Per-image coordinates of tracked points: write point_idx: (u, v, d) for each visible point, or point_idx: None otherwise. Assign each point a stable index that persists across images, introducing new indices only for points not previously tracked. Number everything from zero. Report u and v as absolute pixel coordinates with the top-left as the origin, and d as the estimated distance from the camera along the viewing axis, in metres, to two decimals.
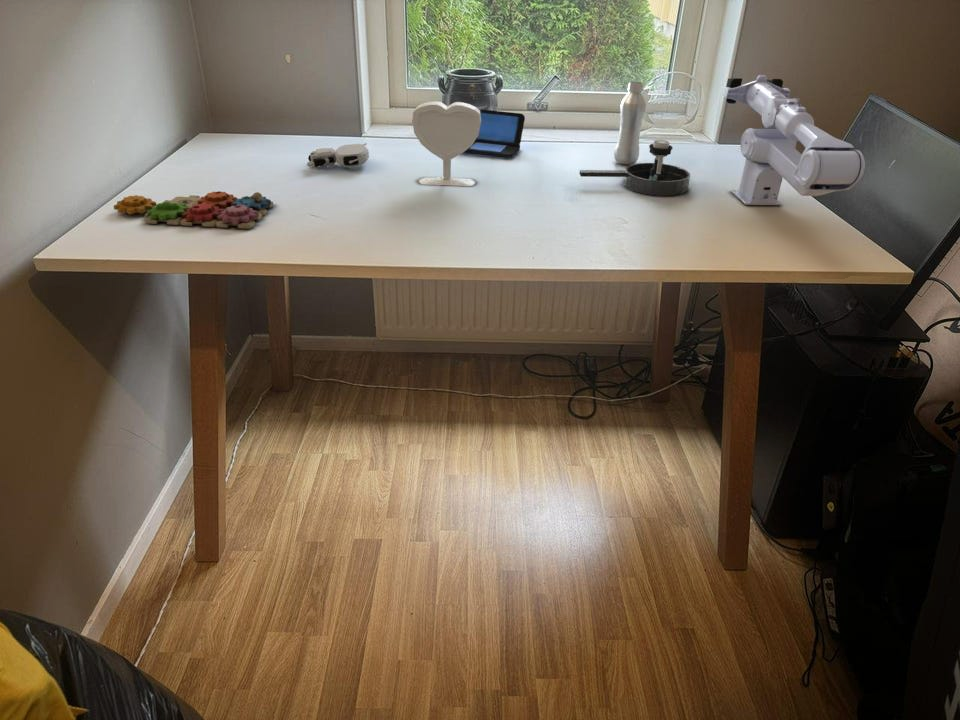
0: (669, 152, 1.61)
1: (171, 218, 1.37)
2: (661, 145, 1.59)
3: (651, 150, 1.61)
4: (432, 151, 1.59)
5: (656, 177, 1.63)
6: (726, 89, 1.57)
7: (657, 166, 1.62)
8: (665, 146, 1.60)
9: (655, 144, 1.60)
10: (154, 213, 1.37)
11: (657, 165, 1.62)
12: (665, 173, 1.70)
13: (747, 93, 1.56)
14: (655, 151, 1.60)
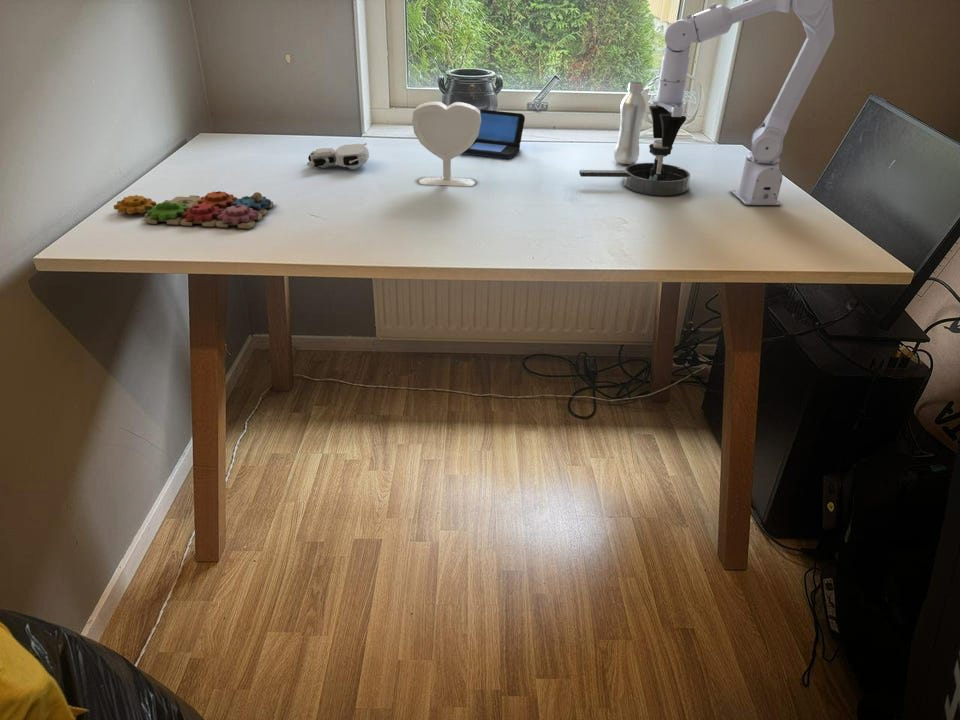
0: (669, 152, 1.61)
1: (171, 218, 1.37)
2: (661, 145, 1.59)
3: (651, 150, 1.61)
4: (432, 151, 1.59)
5: (656, 177, 1.63)
6: (674, 112, 1.50)
7: (657, 166, 1.62)
8: None
9: (655, 144, 1.60)
10: (154, 213, 1.37)
11: (657, 165, 1.62)
12: (665, 173, 1.70)
13: (671, 101, 1.53)
14: (655, 151, 1.60)
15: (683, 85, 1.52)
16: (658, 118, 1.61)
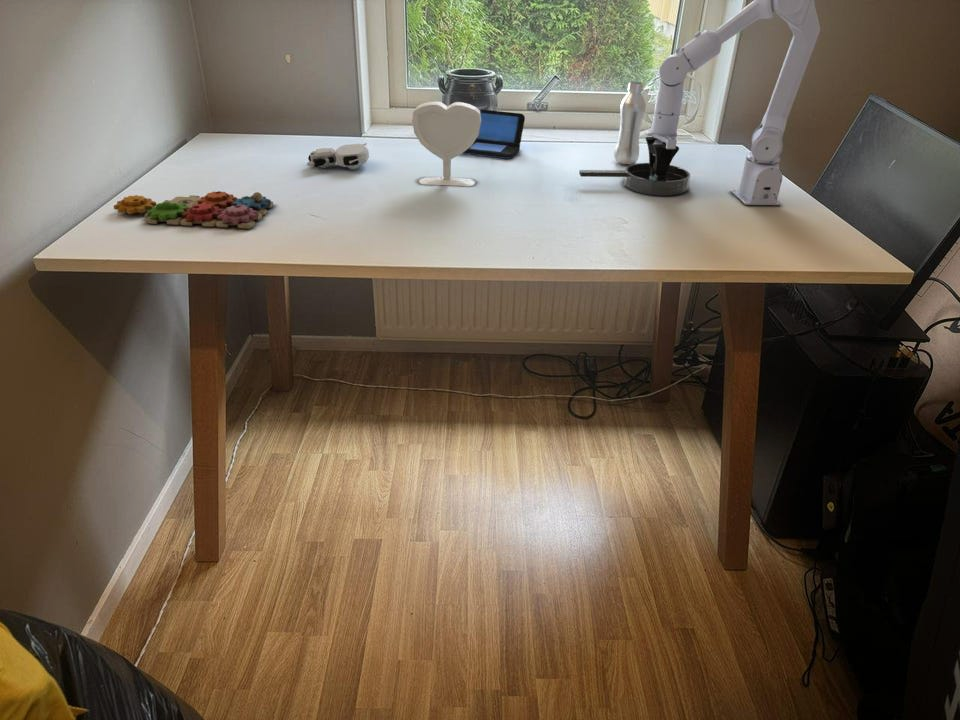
0: None
1: (171, 218, 1.37)
2: None
3: (652, 150, 1.60)
4: (432, 151, 1.59)
5: (656, 177, 1.63)
6: (668, 145, 1.53)
7: None
8: None
9: None
10: (154, 213, 1.37)
11: None
12: None
13: (665, 133, 1.56)
14: None
15: (677, 118, 1.56)
16: None
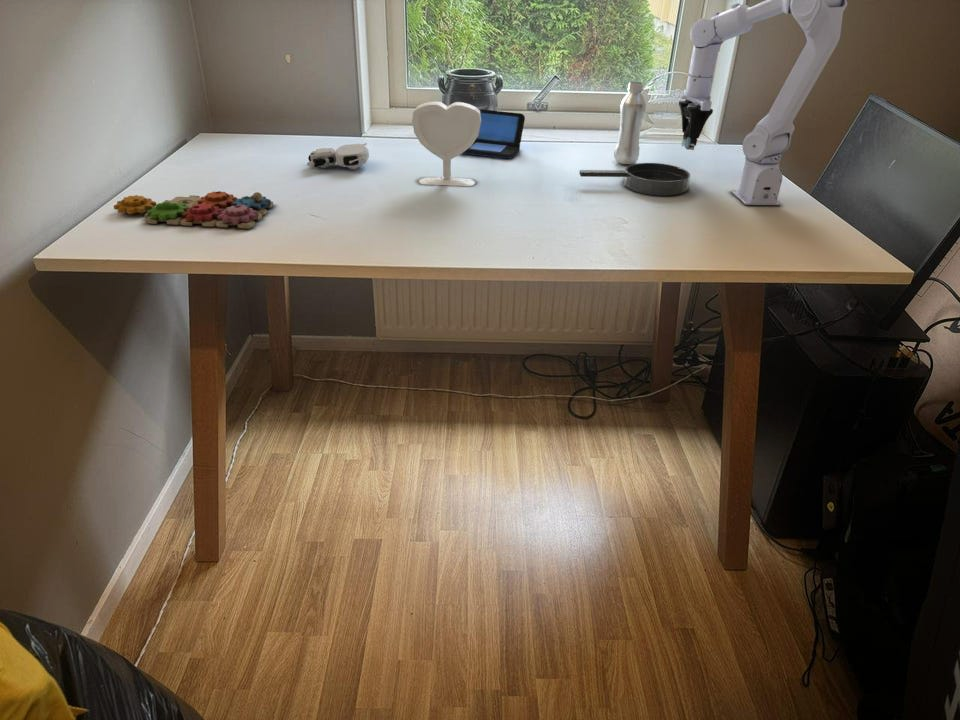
0: None
1: (171, 218, 1.37)
2: None
3: (685, 113, 1.65)
4: (432, 151, 1.59)
5: (690, 140, 1.67)
6: (703, 106, 1.58)
7: None
8: None
9: None
10: (154, 213, 1.37)
11: None
12: (665, 173, 1.70)
13: (700, 95, 1.60)
14: None
15: (711, 80, 1.60)
16: None
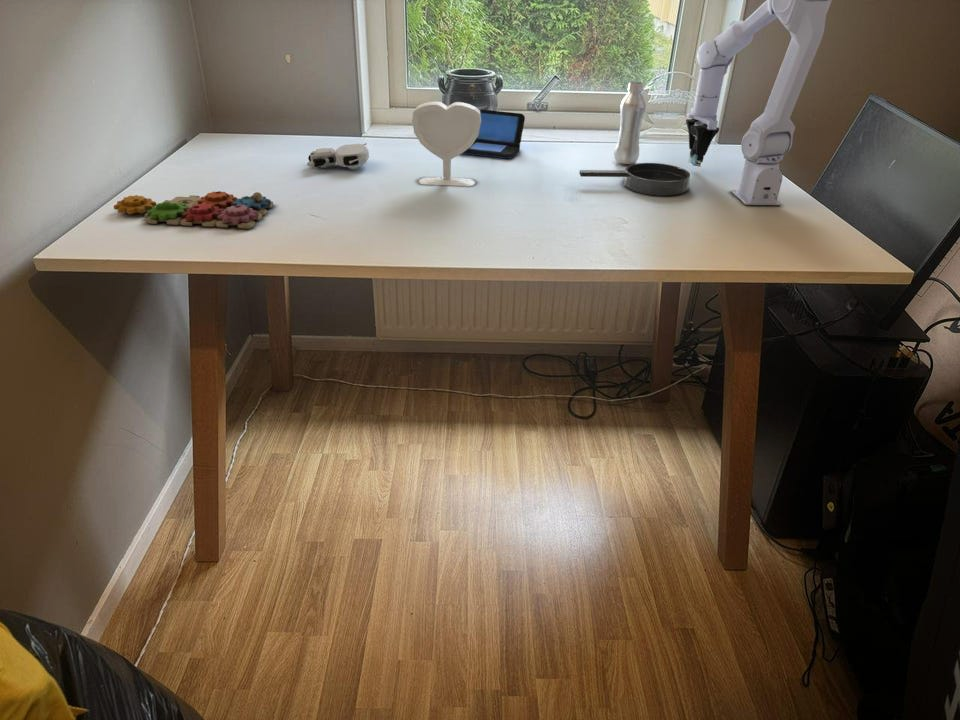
0: None
1: (171, 218, 1.37)
2: None
3: (692, 131, 1.70)
4: (432, 151, 1.59)
5: (696, 157, 1.73)
6: (710, 125, 1.63)
7: None
8: None
9: (696, 125, 1.70)
10: (154, 213, 1.37)
11: None
12: (665, 173, 1.70)
13: (706, 114, 1.66)
14: None
15: (718, 100, 1.66)
16: None
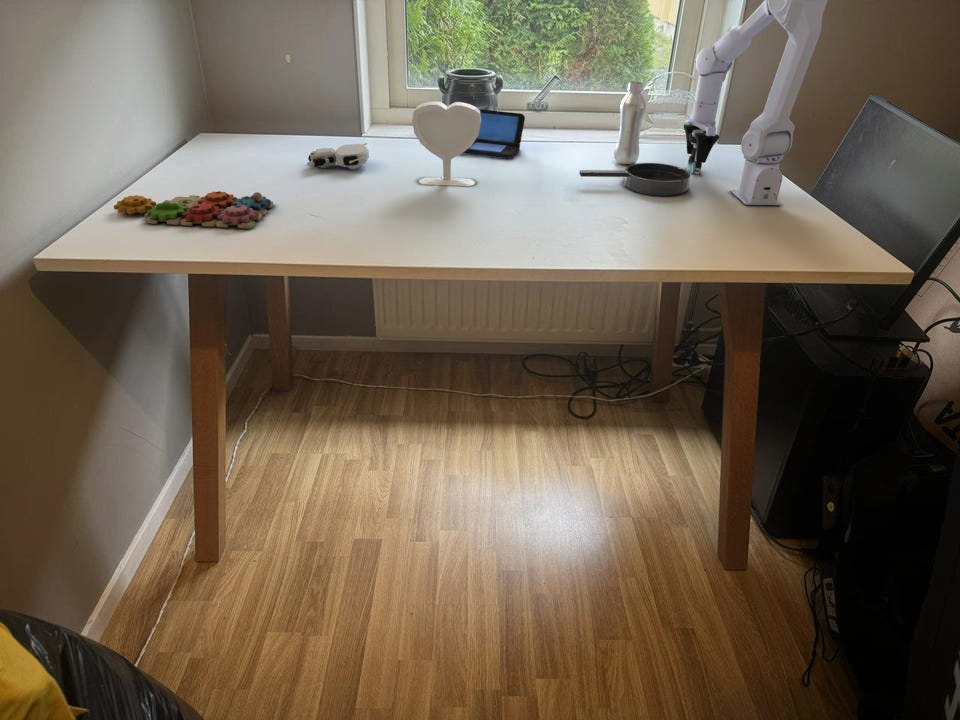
0: None
1: (171, 218, 1.37)
2: None
3: (690, 139, 1.72)
4: (432, 151, 1.59)
5: (695, 164, 1.74)
6: (708, 132, 1.64)
7: None
8: None
9: (694, 133, 1.71)
10: (154, 213, 1.37)
11: None
12: (665, 173, 1.70)
13: (705, 121, 1.67)
14: (694, 140, 1.71)
15: (716, 106, 1.66)
16: None
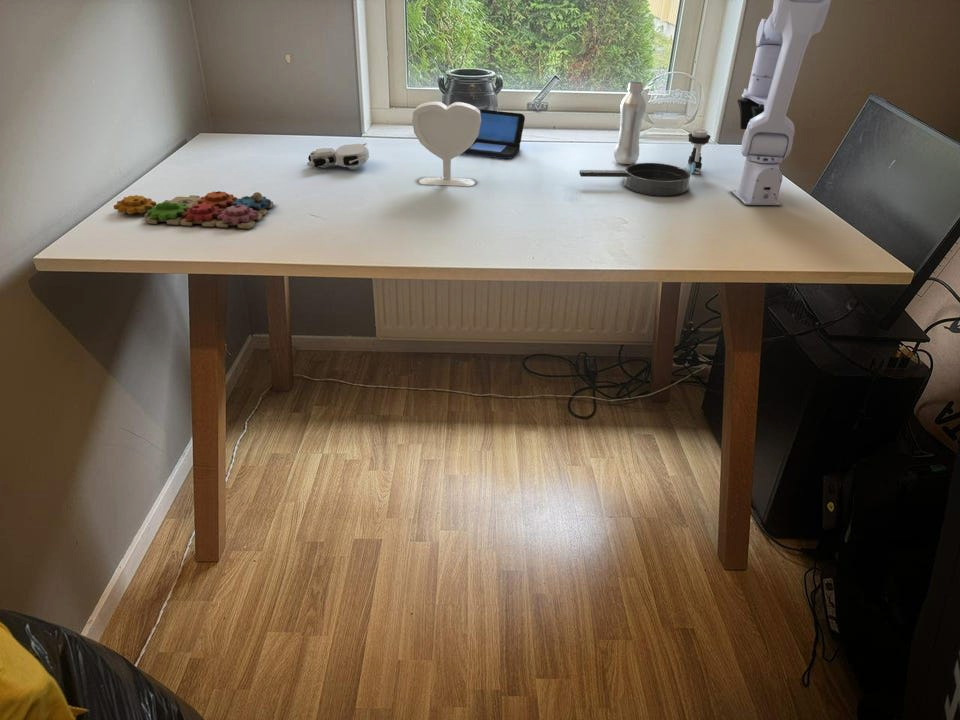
0: (707, 141, 1.71)
1: (171, 218, 1.37)
2: (700, 134, 1.70)
3: (690, 139, 1.72)
4: (432, 151, 1.59)
5: (695, 164, 1.74)
6: None
7: (696, 154, 1.73)
8: (704, 135, 1.70)
9: (694, 133, 1.71)
10: (154, 213, 1.37)
11: (696, 153, 1.73)
12: (665, 173, 1.70)
13: (762, 94, 1.66)
14: (694, 140, 1.71)
15: None
16: (746, 110, 1.74)
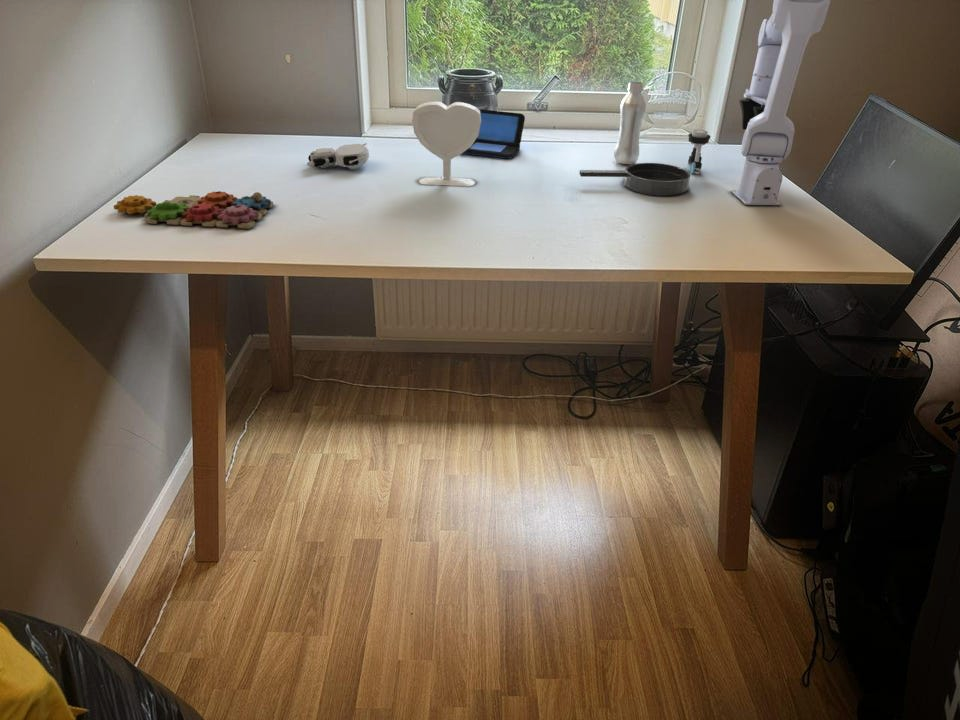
0: (707, 141, 1.71)
1: (171, 218, 1.37)
2: (700, 134, 1.70)
3: (690, 139, 1.72)
4: (432, 151, 1.59)
5: (695, 164, 1.74)
6: None
7: (696, 154, 1.73)
8: (704, 135, 1.70)
9: (694, 133, 1.71)
10: (154, 213, 1.37)
11: (696, 153, 1.73)
12: (665, 173, 1.70)
13: (764, 94, 1.66)
14: (694, 140, 1.71)
15: None
16: (748, 111, 1.75)
